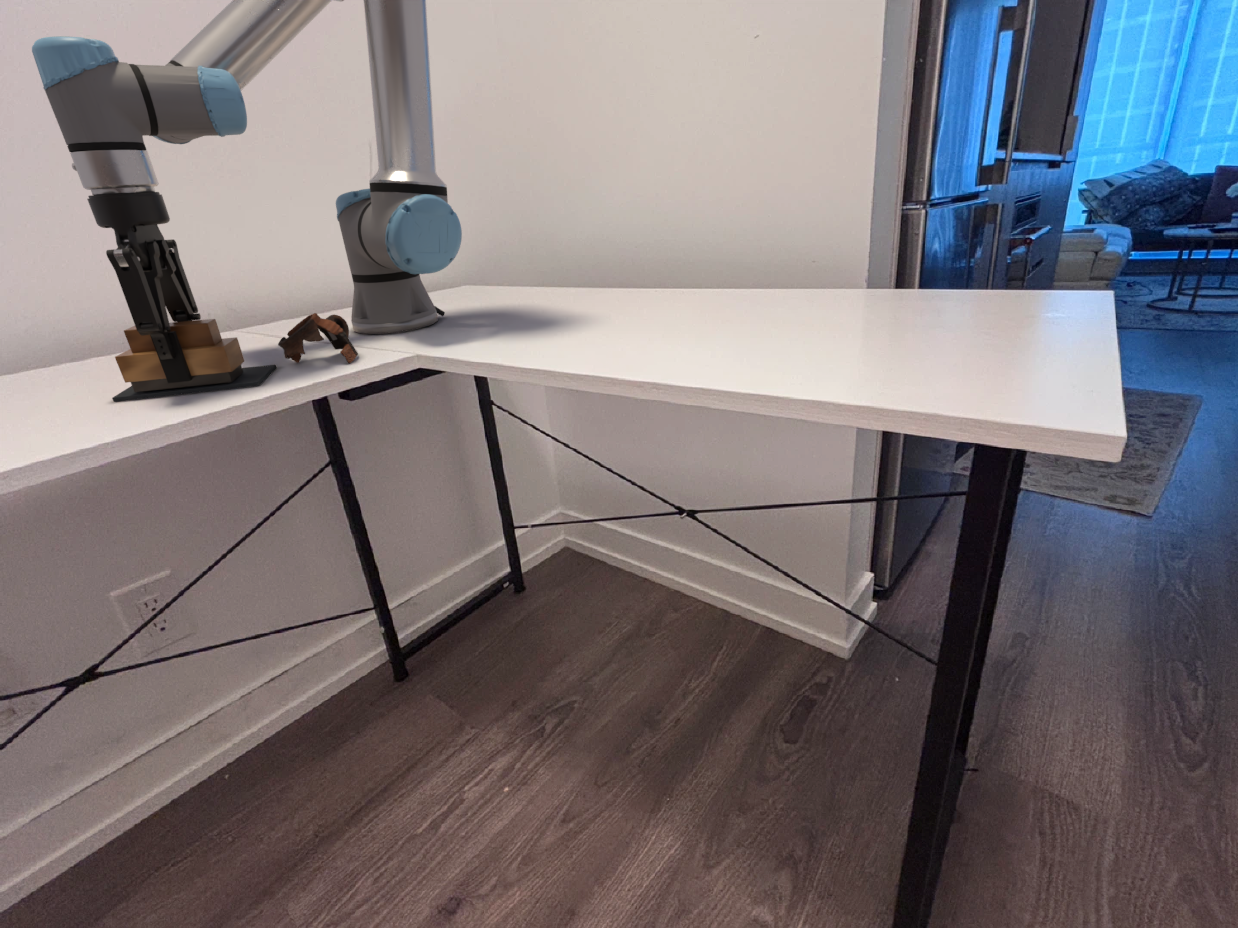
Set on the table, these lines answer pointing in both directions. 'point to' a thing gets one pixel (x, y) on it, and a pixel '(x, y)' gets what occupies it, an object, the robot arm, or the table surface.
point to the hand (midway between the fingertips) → (189, 374)
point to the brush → (200, 348)
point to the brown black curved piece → (318, 336)
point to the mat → (246, 379)
